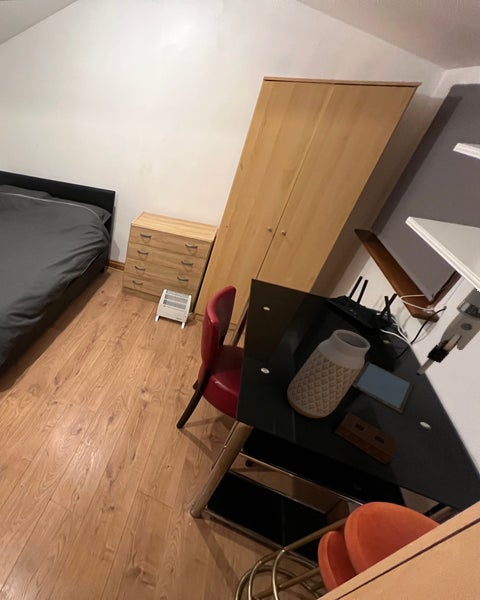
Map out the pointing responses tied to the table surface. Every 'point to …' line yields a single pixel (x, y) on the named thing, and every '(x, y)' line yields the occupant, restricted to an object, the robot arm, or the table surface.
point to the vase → (328, 374)
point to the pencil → (425, 366)
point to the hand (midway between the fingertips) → (433, 358)
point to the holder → (367, 438)
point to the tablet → (383, 386)
